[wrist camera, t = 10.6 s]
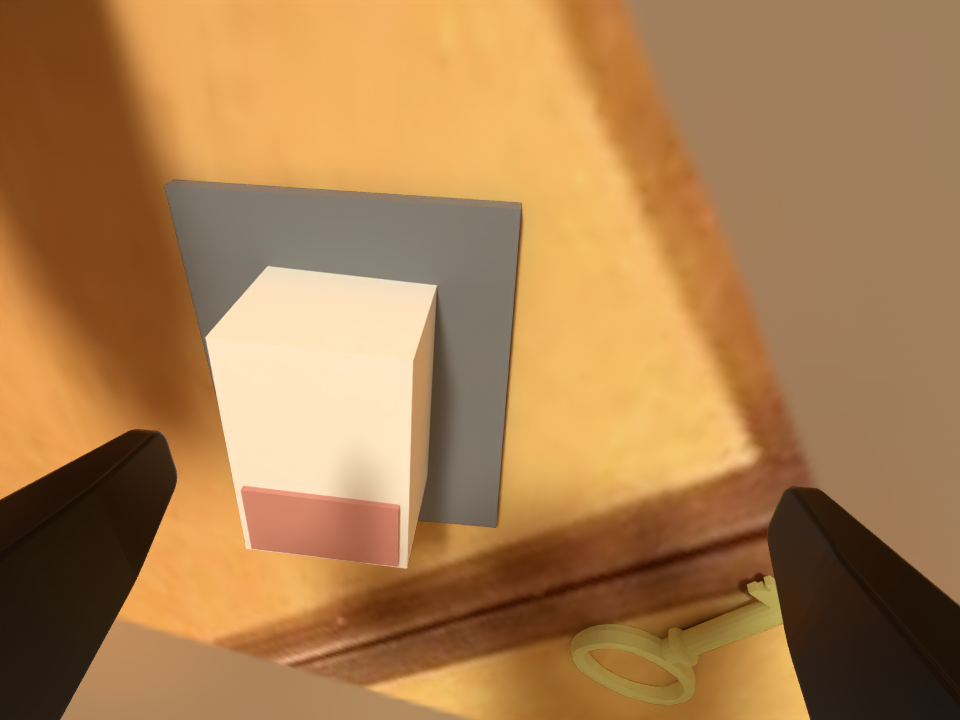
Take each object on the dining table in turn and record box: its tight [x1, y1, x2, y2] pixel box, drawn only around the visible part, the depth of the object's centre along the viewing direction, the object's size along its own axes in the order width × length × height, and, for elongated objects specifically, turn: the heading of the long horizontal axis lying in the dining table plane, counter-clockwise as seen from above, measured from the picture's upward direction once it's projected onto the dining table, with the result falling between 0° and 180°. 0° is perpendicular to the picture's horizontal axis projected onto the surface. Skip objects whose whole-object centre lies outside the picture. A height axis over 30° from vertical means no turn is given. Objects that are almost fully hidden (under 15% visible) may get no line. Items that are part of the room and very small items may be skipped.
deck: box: [205, 266, 437, 569], centre depth 21 cm, size 6×9×5 cm, turn 175°
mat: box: [164, 180, 521, 528], centre depth 23 cm, size 14×11×1 cm
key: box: [570, 575, 783, 705], centre depth 29 cm, size 7×12×2 cm, turn 159°
